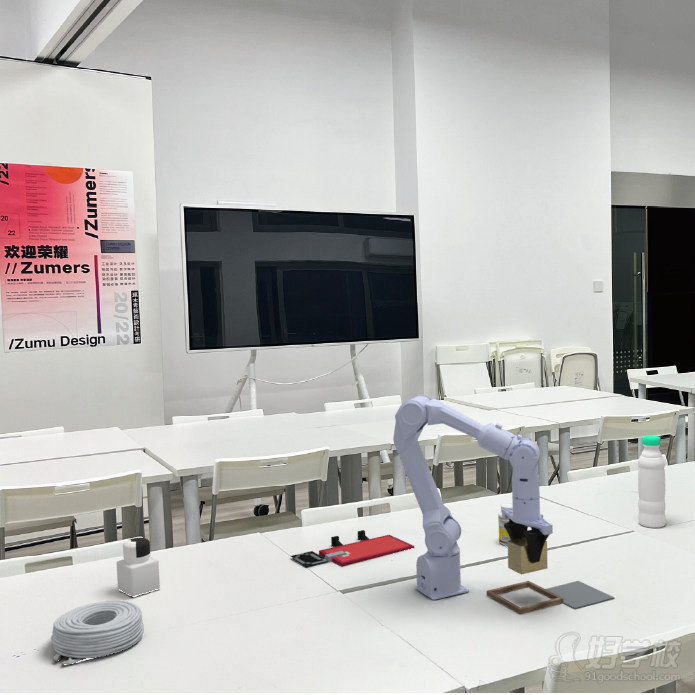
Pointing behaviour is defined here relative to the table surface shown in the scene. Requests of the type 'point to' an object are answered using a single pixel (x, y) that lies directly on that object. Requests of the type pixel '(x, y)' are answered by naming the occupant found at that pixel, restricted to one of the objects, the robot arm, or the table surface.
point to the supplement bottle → (502, 531)
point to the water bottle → (651, 484)
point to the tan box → (524, 557)
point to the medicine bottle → (137, 568)
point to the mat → (579, 594)
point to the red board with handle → (355, 550)
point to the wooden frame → (529, 608)
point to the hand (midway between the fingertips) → (527, 558)
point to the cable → (97, 630)
